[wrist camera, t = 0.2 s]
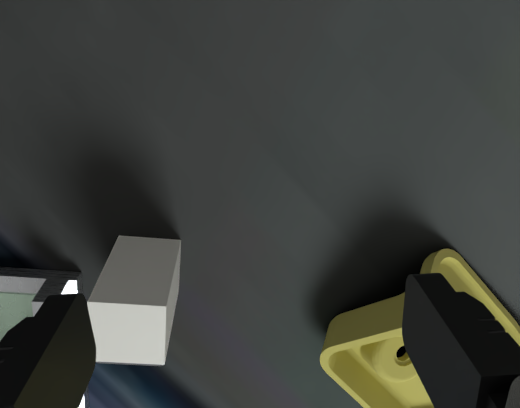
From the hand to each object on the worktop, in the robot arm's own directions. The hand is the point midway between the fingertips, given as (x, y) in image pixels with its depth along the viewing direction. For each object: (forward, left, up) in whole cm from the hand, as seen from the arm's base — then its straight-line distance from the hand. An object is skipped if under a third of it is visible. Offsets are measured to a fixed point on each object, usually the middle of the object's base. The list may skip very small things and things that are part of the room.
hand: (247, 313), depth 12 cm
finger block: (+10, -5, -17) cm, 21 cm away
